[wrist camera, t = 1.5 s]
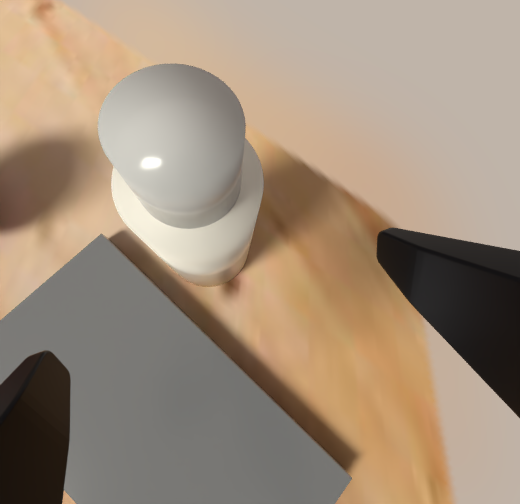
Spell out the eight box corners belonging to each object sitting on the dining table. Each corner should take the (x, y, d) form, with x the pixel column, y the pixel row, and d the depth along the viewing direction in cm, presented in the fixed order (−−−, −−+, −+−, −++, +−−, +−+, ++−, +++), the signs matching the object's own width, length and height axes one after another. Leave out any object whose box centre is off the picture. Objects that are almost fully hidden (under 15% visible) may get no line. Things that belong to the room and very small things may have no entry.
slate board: (345, 469, 17) (352, 478, 16) (224, 644, 15) (223, 666, 14) (107, 238, 19) (101, 233, 18) (-34, 361, 17) (-50, 363, 16)
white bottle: (264, 246, 20) (316, 126, 8) (208, 304, 19) (169, 267, 7) (208, 195, 20) (176, 7, 8) (151, 248, 19) (15, 119, 7)
